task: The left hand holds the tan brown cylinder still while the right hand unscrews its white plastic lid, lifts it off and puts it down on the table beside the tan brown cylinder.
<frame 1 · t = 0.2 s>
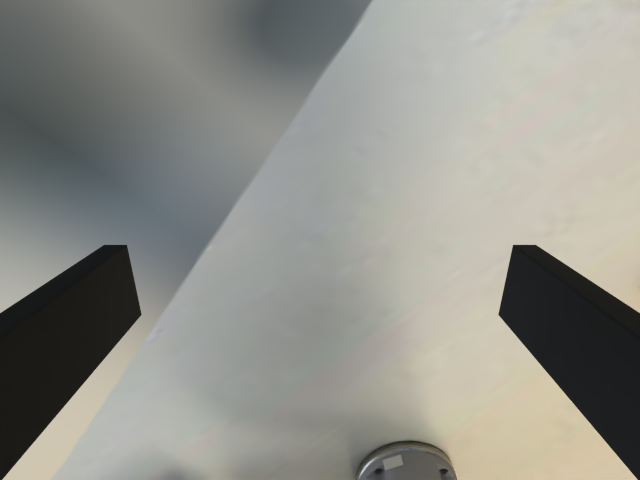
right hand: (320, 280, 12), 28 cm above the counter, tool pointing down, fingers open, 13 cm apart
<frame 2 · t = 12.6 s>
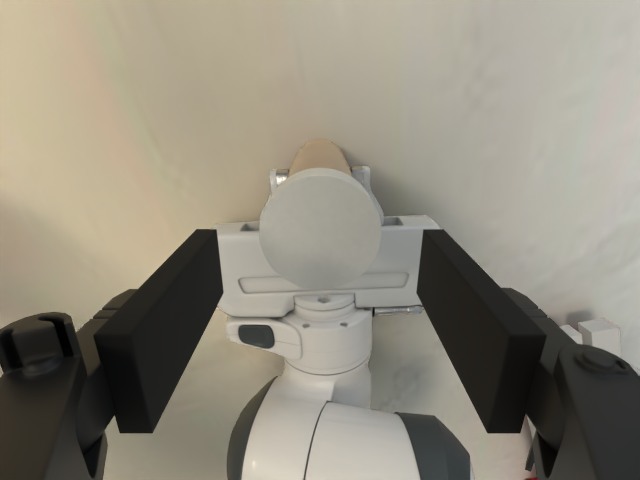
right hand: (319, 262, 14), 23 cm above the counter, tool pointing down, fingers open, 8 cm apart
left hand: (319, 168, 28), fingers closed on tan brown cylinder, 5 cm apart
toy: (554, 405, 46), on the counter
tan brown cylinder: (320, 165, 35), on the counter, touching left hand
lid: (320, 233, 17), point 19 cm above the counter, screwed on, not yet turned
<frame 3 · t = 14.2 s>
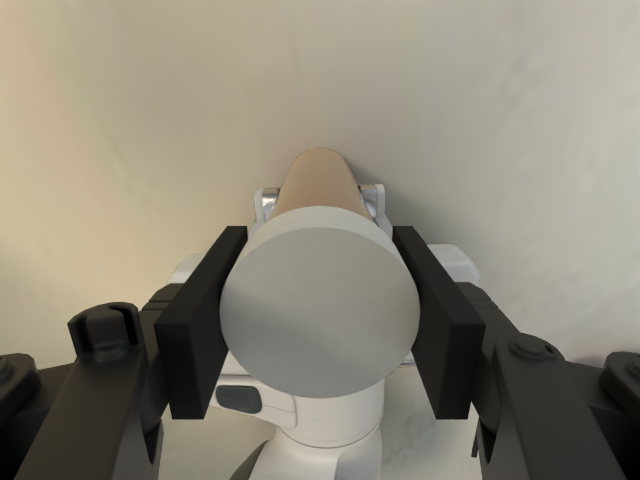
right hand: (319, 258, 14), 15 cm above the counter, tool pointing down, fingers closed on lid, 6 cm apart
tan brown cylinder: (319, 179, 28), on the counter, touching left hand
lid: (319, 314, 10), point 19 cm above the counter, screwed on, not yet turned, touching right hand
when the right hand's fingers open (16 cm above the counter, at t = 15.7 s): lid stays where it is, point 20 cm above the counter.
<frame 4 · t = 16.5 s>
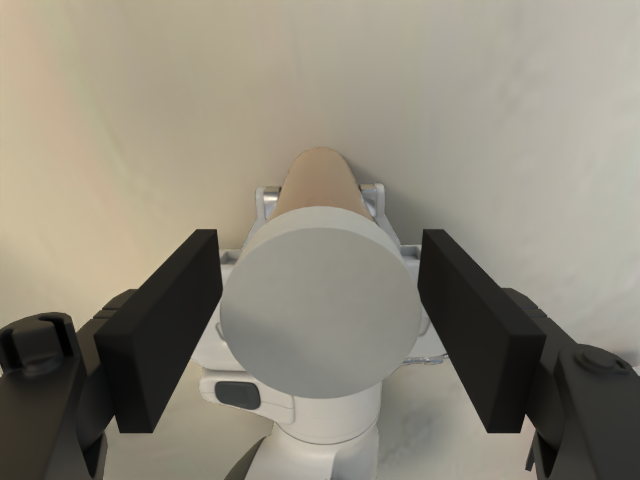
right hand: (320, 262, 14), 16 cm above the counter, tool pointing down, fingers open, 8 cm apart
left hand: (319, 186, 22), fingers closed on tan brown cylinder, 5 cm apart
tan brown cylinder: (320, 179, 29), on the counter, touching left hand
lid: (320, 315, 10), point 20 cm above the counter, turned 91° so far, risen 0.3 cm, still on its thread
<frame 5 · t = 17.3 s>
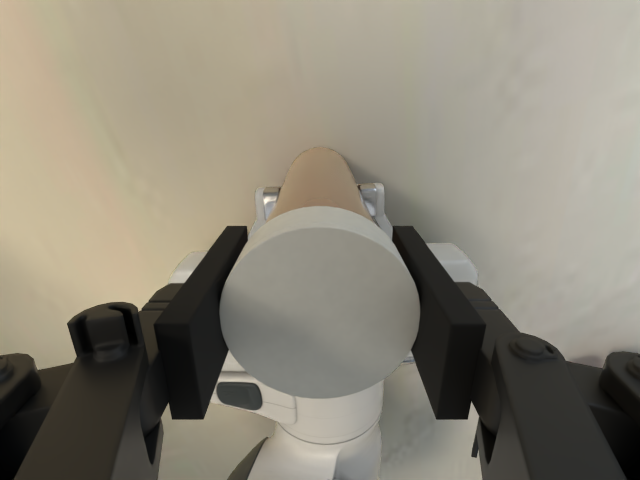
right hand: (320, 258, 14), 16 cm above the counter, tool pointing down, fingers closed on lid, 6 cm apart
tan brown cylinder: (319, 179, 29), on the counter, touching left hand
lid: (319, 314, 10), point 20 cm above the counter, turned 91° so far, risen 0.3 cm, still on its thread, touching right hand
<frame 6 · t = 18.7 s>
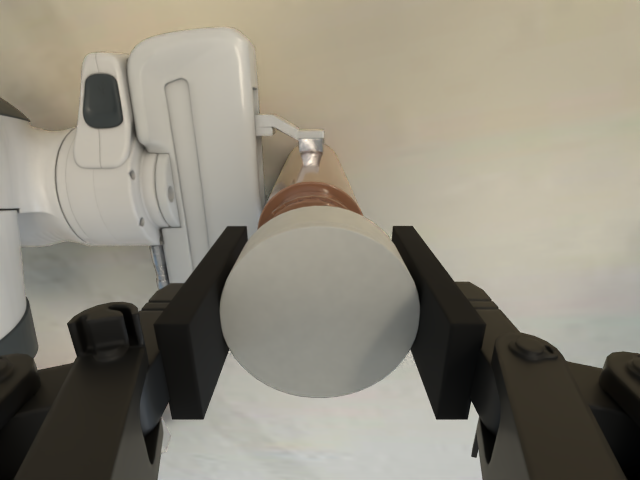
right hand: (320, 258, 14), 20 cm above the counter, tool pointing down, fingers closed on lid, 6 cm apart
left hand: (324, 184, 27), fingers closed on tan brown cylinder, 5 cm apart
tan brown cylinder: (312, 169, 33), on the counter, touching left hand
lid: (319, 314, 10), point 24 cm above the counter, off its thread, touching right hand
when the right hand's fingers open (0 cm above the counter, at t = 24.1 s): lid drops 2 cm, point 2 cm above the counter.
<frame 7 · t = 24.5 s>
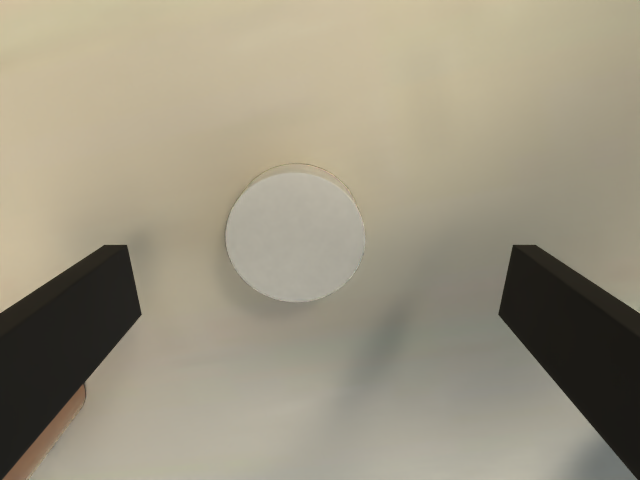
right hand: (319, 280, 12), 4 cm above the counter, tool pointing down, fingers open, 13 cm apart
tan brown cylinder: (37, 386, 19), on the counter, touching left hand
lid: (296, 239, 15), point 2 cm above the counter, off its thread
when the left hand's fingers open (7 cm above the counter, at t = 24.8 s): tan brown cylinder stays where it is, on the counter.
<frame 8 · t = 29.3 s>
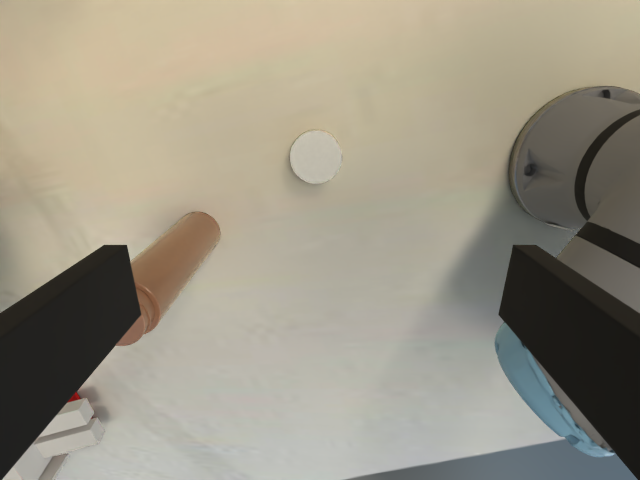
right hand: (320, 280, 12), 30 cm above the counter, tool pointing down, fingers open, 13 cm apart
toy: (16, 412, 54), on the counter
tan brown cylinder: (199, 231, 44), on the counter
lid: (316, 157, 39), point 2 cm above the counter, off its thread
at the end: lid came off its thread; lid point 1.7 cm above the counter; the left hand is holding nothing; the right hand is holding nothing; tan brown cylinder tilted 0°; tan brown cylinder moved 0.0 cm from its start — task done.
